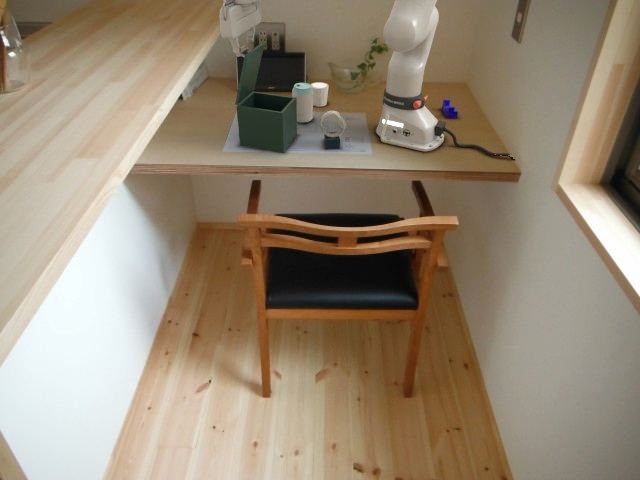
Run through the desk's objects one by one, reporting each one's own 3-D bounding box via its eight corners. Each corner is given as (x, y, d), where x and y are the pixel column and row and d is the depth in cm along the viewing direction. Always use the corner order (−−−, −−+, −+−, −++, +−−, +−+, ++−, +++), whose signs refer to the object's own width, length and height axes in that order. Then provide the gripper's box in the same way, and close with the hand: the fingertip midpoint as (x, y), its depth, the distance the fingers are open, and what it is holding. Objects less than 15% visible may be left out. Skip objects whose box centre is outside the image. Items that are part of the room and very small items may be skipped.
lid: (264, 43, 136) (249, 36, 136) (247, 55, 126) (231, 48, 126) (254, 90, 146) (239, 84, 146) (237, 105, 136) (222, 98, 136)
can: (294, 124, 157) (293, 90, 150) (291, 116, 163) (290, 82, 155) (314, 123, 159) (315, 88, 151) (310, 114, 164) (310, 81, 156)
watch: (345, 148, 145) (347, 115, 138) (320, 149, 144) (321, 115, 137) (343, 140, 149) (345, 107, 142) (318, 141, 148) (319, 108, 141)
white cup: (331, 102, 173) (332, 84, 169) (321, 108, 168) (322, 89, 164) (316, 98, 176) (316, 80, 171) (306, 104, 171) (306, 85, 167)
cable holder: (456, 118, 165) (459, 107, 162) (447, 118, 164) (449, 107, 162) (450, 109, 171) (453, 98, 168) (441, 109, 171) (443, 98, 168)
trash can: (296, 135, 151) (296, 97, 143) (283, 152, 142) (282, 113, 134) (255, 128, 154) (253, 91, 146) (240, 145, 145) (236, 106, 137)
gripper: (233, 2, 115) (238, 59, 123) (264, -13, 130) (267, 39, 139) (210, 0, 116) (217, 57, 125) (243, -14, 131) (248, 37, 140)
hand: (244, 47), depth 132 cm, fingers open, 8 cm apart
